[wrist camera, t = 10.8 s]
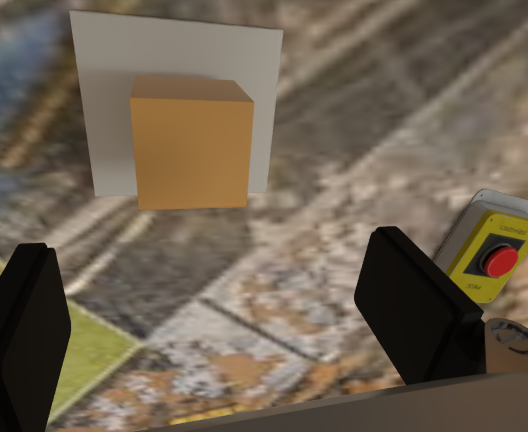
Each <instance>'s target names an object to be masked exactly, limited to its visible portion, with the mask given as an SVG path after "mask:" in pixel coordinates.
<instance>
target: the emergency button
mask: <svg viewBox="0 0 528 432" xmlns="http://www.w3.org/2000/svg"><path fill="white" fill-rule="evenodd" d="M527 254H528V200H525V199H522V198H518V197H515V196H511V195H507V194H504V193H500V192H497V191H493V190H489V189H481V190H480V191H478V192H477V193H476V194H475V196H474V197H473V199H472V200H471V202H470V203H469V205H468V207H467V208H466V210H465V211H464V213H463V214H462V216H461V218H460V219H459V221H458V222H457V224H456V226H455V227H454V229H453V230H452V232H451V234H450V235H449V237H448V238H447V240H446V242H445V243H444V245H443V246H442V248H441V250H440V251H439V253H438V254H437V256H436V258H435V259H434V261H433V262H434V263H435V264H436V265H437V266H438V267H439V268H440V269H441V270H442V271H443V272H444V273H445V274H446V275H447V276H448V277H449V278H450V279H451V280H452V281H453V282H454V283H455V284H456V285H457V286H458V287H459V288H460V289H461V290H462V291H464V292H465V293H466V294H467V295H468V296H469V297H470V298H471V299H472V300H473V301H474V302H479V303H489V302H491V301H492V300H493V299H494V298H495V297H496V296H497V294H498V293H499V292H500V290H501V289H502V288H503V286H504V285H505V284H506V282H507V281H508V280H509V278H510V277H511V276H512V274H513V273H514V271H515V270H516V269H517V267H518V266H519V265H520V263H521V262H522V261H523V259H524V258H525V257H526V255H527Z"/></svg>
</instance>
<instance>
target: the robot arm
mask: <svg viewBox="0 0 528 432" xmlns="http://www.w3.org/2000/svg"><path fill="white" fill-rule="evenodd" d="M354 301H355V304H356V306H357V308H358V309H359V311H360V313H361V314H362V316H363V317H364V319H365V321H366V322H367V324H368V325H369V327H370V328H371V330H372V332H373V333H374V335H375V336H376V338H377V340H378V341H379V343H380V344H381V346H382V347H383V349H384V351H385V352H386V354H387V355H388V357H389V359H390V360H391V362H392V363H393V365H394V366H395V368H396V370H397V371H398V373H399V374H400V376H401V378H402V379H403V381H404V382H405V384H406V385H405V386H399V387H393V388H386V389H380V390H374V391H368V392H362V393H356V394H350V395H344V396H338V397H332V398H326V399H320V400H314V401H308V402H302V403H296V404H290V405H284V406H279V407H273V408H267V409H261V410H255V411H249V412H243V413H238V414H232V415H226V416H220V417H215V418H209V419H203V420H197V421H192V422H186V423H180V424H175V425H169V426H163V427H157V428H152V429H146V430H140V431H135V432H528V328H526V327H525V326H523V325H521V324H519V323H517V322H514V321H512V320H508V319H504V318H493V319H489V320H488V321H487V322H486V323H484V322H483V321H482V320H481V317H482V315H483V313H484V311H483V310H482V309H481V308H480V307H479V306H478V305H477V304H476V303H475V302H474V301H473V300H472V299H471V298H470V297H469V296H468V295H467V294H466V293H465V292H464V291H462V290H461V289H460V288H459V287H458V286H457V285H456V284H455V283H454V282H453V281H452V280H451V279H450V278H449V277H448V276H447V275H446V274H445V273H444V272H443V271H442V270H441V269H440V268H439V267H438V266H437V265H436V264H435V263H434V262H433V261H432V260H431V259H430V258H429V257H428V256H427V255H426V254H425V253H424V252H423V251H422V250H420V249H419V248H418V247H417V246H416V245H415V244H414V243H413V242H412V241H411V240H410V239H409V238H408V237H407V236H406V235H405V234H404V233H403V232H402V231H401V230H400V229H399V228H398V227H396V226H386V227H378V228H377V229H376V230H375V231H374V232H372V233H371V236H370V239H369V243H368V246H367V250H366V254H365V257H364V261H363V264H362V268H361V272H360V275H359V279H358V282H357V286H356V290H355V293H354ZM70 334H71V320H70V316H69V311H68V307H67V302H66V297H65V293H64V288H63V284H62V279H61V275H60V270H59V265H58V261H57V256H56V252H55V249H54V248H47V245H46V244H45V243H25V244H19V245H18V246H17V248H16V249H15V251H14V253H13V255H12V256H11V258H10V260H9V262H8V263H7V265H6V267H5V269H4V270H3V272H2V274H1V276H0V432H45V429H46V425H47V421H48V417H49V414H50V410H51V406H52V402H53V399H54V395H55V391H56V387H57V383H58V380H59V376H60V372H61V368H62V365H63V361H64V357H65V353H66V350H67V346H68V342H69V338H70Z"/></svg>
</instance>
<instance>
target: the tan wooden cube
mask: <svg viewBox="0 0 528 432" xmlns="http://www.w3.org/2000/svg"><path fill="white" fill-rule="evenodd" d="M254 103H255V102H254V101H253V100H252V99H251V98H250V97H249V96H248V95H247V94H246V93H245V92H244V90H243V89H242V88H241V87H240V86H239V85H238V84H237V83H236V82H235V81H234V80H218V79H199V78H179V77H160V76H141V75H136V76H135V80H134V83H133V87H132V90H131V94H130V109H131V121H132V133H133V146H134V158H135V170H136V182H137V194H138V206H139V210H164V209H192V208H220V207H247V194H248V181H249V168H250V155H251V142H252V129H253V116H254Z"/></svg>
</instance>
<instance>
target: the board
mask: <svg viewBox="0 0 528 432" xmlns="http://www.w3.org/2000/svg"><path fill="white" fill-rule="evenodd" d="M69 13H70V20H71V27H72V34H73V41H74V48H75V55H76V63H77V70H78V77H79V84H80V91H81V98H82V105H83V112H84V119H85V126H86V134H87V141H88V148H89V155H90V162H91V169H92V176H93V183H94V190H95V196H137V195H138V194H137V182H136V170H135V158H134V146H133V133H132V121H131V109H130V94H131V90H132V87H133V83H134V80H135V76H136V75H141V76H160V77H179V78H199V79H218V80H234V81H235V82H236V83H237V84H238V85H239V86H240V87H241V88H242V89H243V90H244V92H245V93H246V94H247V95H248V96H249V97H250V98H251V99H252V100H253V101H254V102H255V103H254V116H253V129H252V142H251V155H250V168H249V181H248V193H266V189H267V179H268V170H269V160H270V151H271V142H272V132H273V123H274V113H275V104H276V95H277V85H278V76H279V66H280V57H281V47H282V38H283V30H279V29H275V28H264V27H254V26H243V25H232V24H222V23H211V22H200V21H190V20H179V19H168V18H158V17H147V16H136V15H126V14H115V13H105V12H94V11H83V10H71V11H69Z"/></svg>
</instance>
